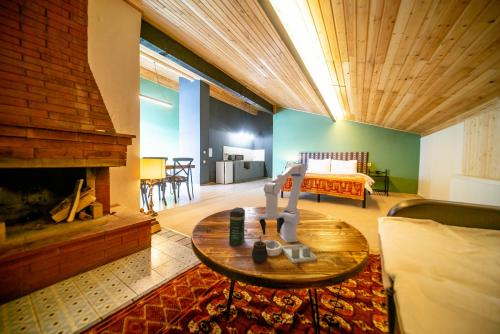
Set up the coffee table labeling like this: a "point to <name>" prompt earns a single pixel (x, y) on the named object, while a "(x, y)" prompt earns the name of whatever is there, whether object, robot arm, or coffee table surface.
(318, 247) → the coffee table surface
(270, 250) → the bowl
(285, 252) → the tray
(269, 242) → the grey rounded cylinder
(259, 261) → the mate gourd
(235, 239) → the coffee jar
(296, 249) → the pebble
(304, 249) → the pebble
